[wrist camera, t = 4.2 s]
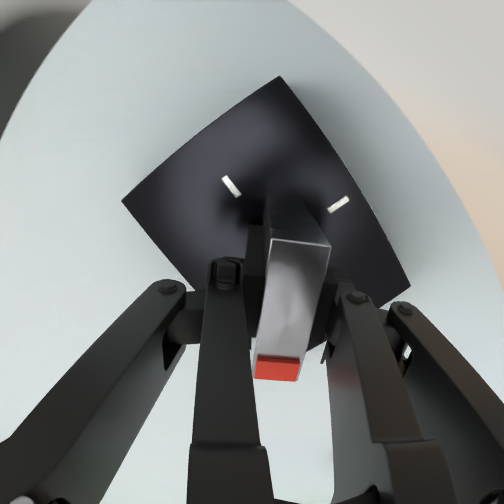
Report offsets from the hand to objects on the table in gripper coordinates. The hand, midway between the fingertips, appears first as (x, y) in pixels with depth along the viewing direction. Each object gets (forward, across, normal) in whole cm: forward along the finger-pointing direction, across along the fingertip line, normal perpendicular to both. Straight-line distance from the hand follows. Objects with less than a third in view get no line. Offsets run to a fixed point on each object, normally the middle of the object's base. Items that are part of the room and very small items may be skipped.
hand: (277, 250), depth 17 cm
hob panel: (+4, 0, 0) cm, 4 cm away
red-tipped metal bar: (+1, 0, 0) cm, 1 cm away
